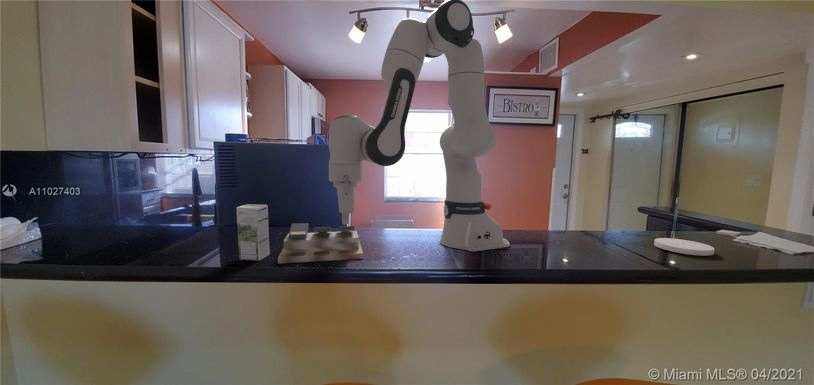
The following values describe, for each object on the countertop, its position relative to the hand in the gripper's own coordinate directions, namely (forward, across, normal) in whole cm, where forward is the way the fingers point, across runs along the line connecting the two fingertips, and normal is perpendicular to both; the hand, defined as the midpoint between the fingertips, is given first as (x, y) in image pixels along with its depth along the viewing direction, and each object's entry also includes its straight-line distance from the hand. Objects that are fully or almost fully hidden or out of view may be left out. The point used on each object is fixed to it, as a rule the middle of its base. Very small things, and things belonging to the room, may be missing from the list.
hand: (345, 223), depth 87 cm
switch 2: (+2, +3, 0) cm, 4 cm away
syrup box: (+9, +2, +24) cm, 26 cm away
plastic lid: (+9, -15, -104) cm, 105 cm away
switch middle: (+2, +3, +6) cm, 7 cm away
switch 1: (+2, +3, +13) cm, 13 cm away
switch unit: (+9, +2, +6) cm, 11 cm away
